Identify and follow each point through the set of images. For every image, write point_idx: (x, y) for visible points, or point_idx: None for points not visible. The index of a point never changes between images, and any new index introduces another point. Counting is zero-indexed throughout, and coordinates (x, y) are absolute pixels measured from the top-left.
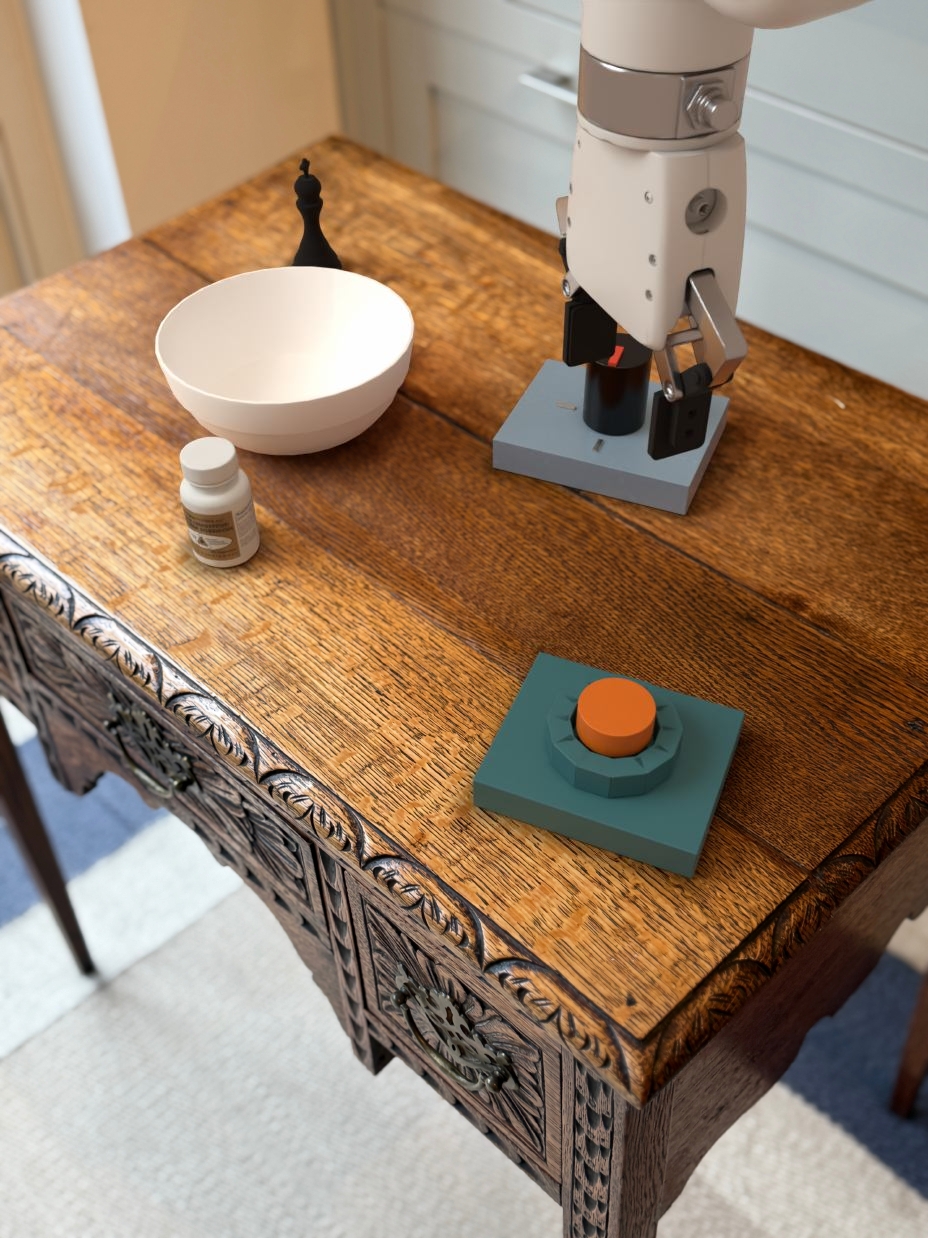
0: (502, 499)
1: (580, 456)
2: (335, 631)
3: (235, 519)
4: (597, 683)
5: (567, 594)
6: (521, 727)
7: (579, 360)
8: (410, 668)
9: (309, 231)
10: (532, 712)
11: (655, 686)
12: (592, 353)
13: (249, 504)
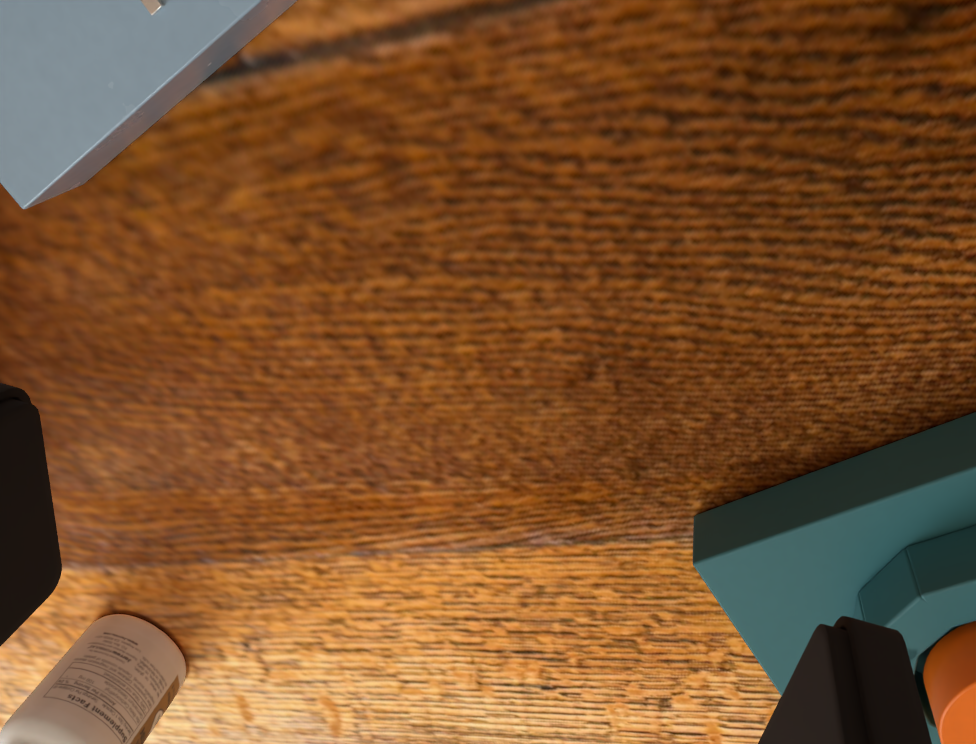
0: (195, 237)
1: (164, 60)
2: (390, 654)
3: (131, 737)
4: (951, 714)
5: (538, 327)
6: None
7: (43, 564)
8: (530, 633)
9: None
10: None
11: (958, 476)
12: (19, 523)
13: (104, 714)
